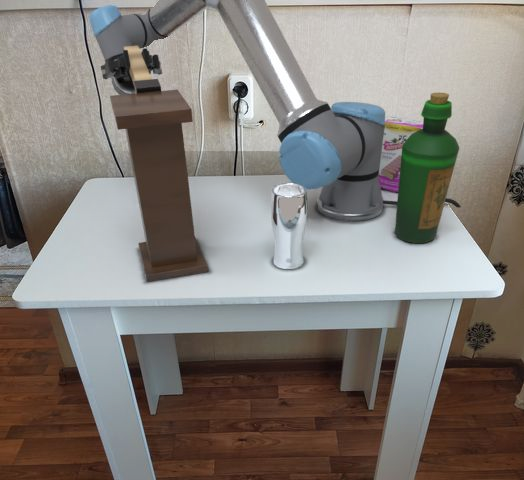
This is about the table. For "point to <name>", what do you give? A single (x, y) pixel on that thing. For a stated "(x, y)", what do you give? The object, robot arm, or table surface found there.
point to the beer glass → (289, 223)
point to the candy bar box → (394, 150)
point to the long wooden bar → (140, 72)
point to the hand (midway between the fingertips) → (136, 57)
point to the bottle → (426, 173)
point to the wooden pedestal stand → (161, 181)
